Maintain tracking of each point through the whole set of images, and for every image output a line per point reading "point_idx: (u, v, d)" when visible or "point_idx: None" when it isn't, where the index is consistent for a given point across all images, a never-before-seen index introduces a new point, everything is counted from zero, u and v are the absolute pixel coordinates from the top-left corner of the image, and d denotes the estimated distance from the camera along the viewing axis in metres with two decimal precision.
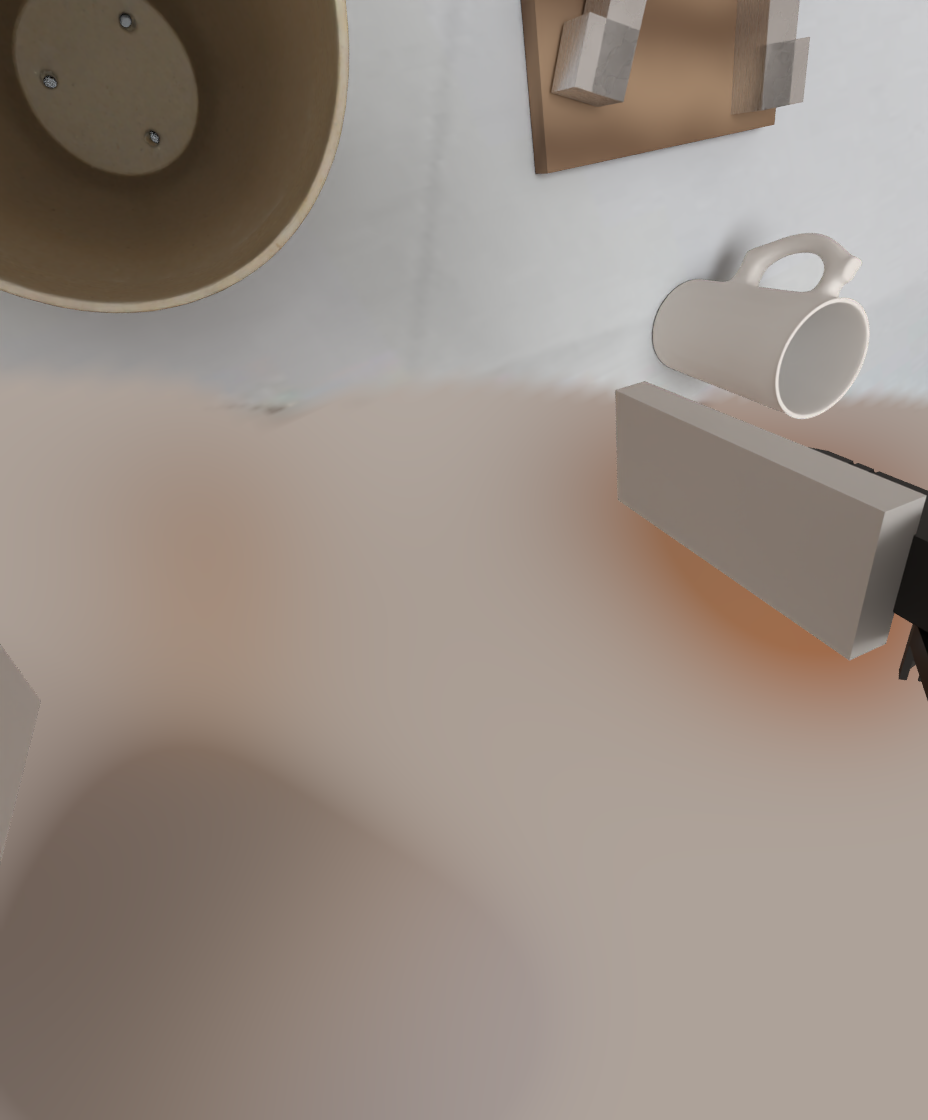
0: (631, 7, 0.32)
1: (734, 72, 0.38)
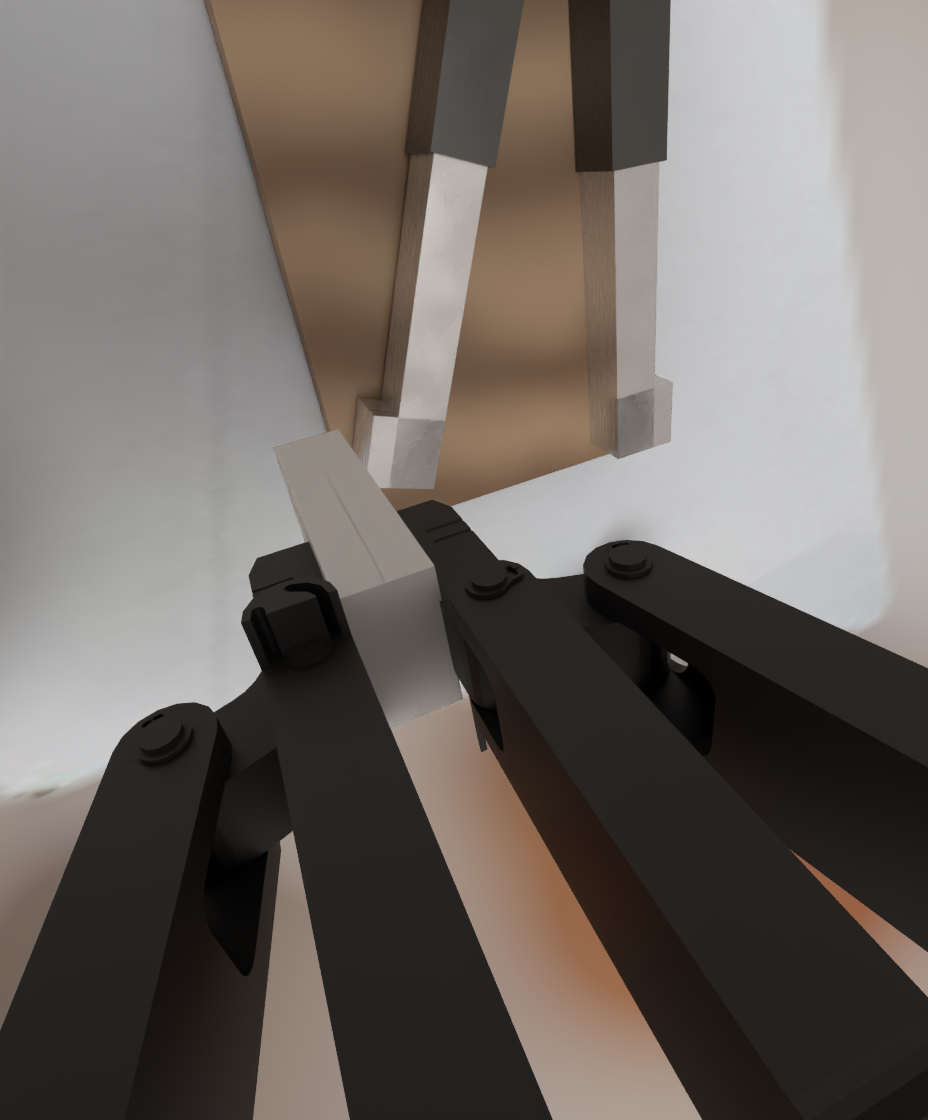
0: (430, 401, 0.26)
1: (590, 402, 0.32)
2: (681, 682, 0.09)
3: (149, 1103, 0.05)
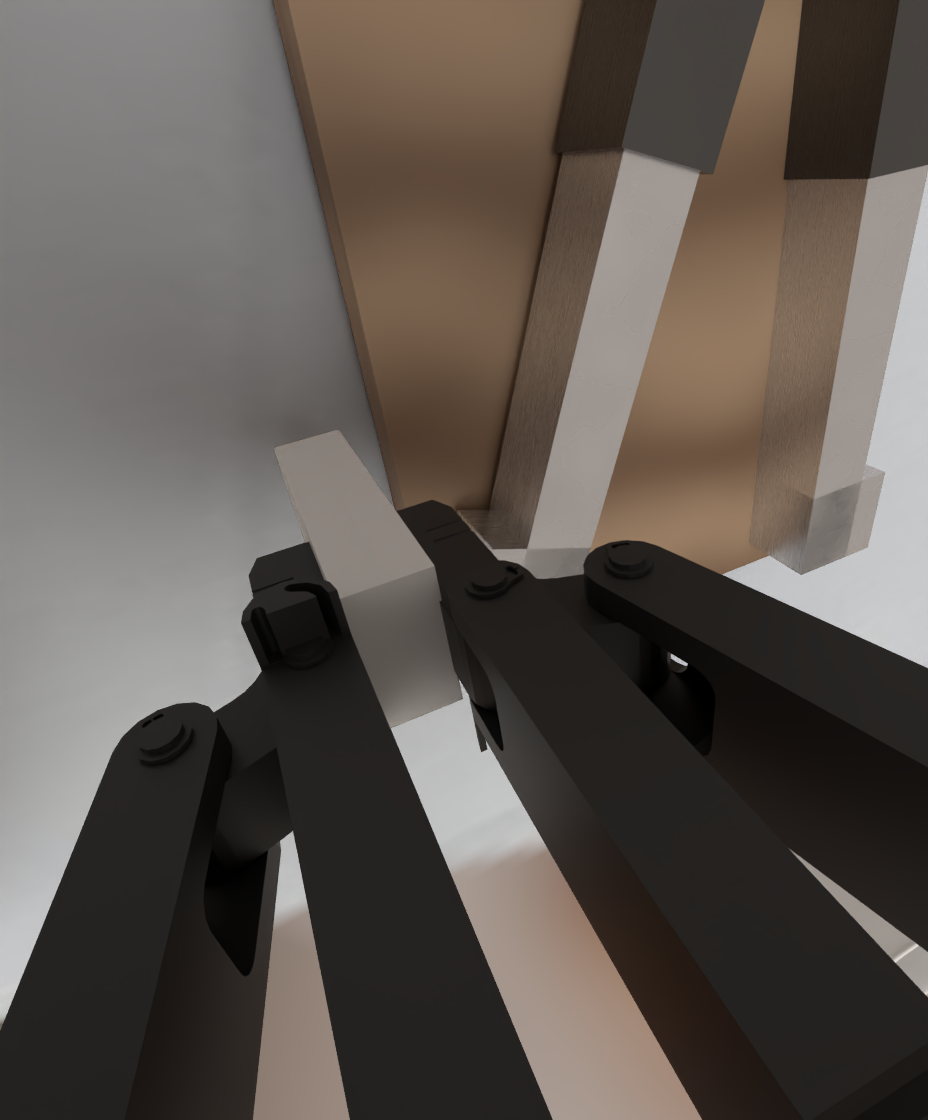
0: (574, 523, 0.17)
1: (756, 494, 0.23)
2: (681, 682, 0.09)
3: (149, 1104, 0.05)
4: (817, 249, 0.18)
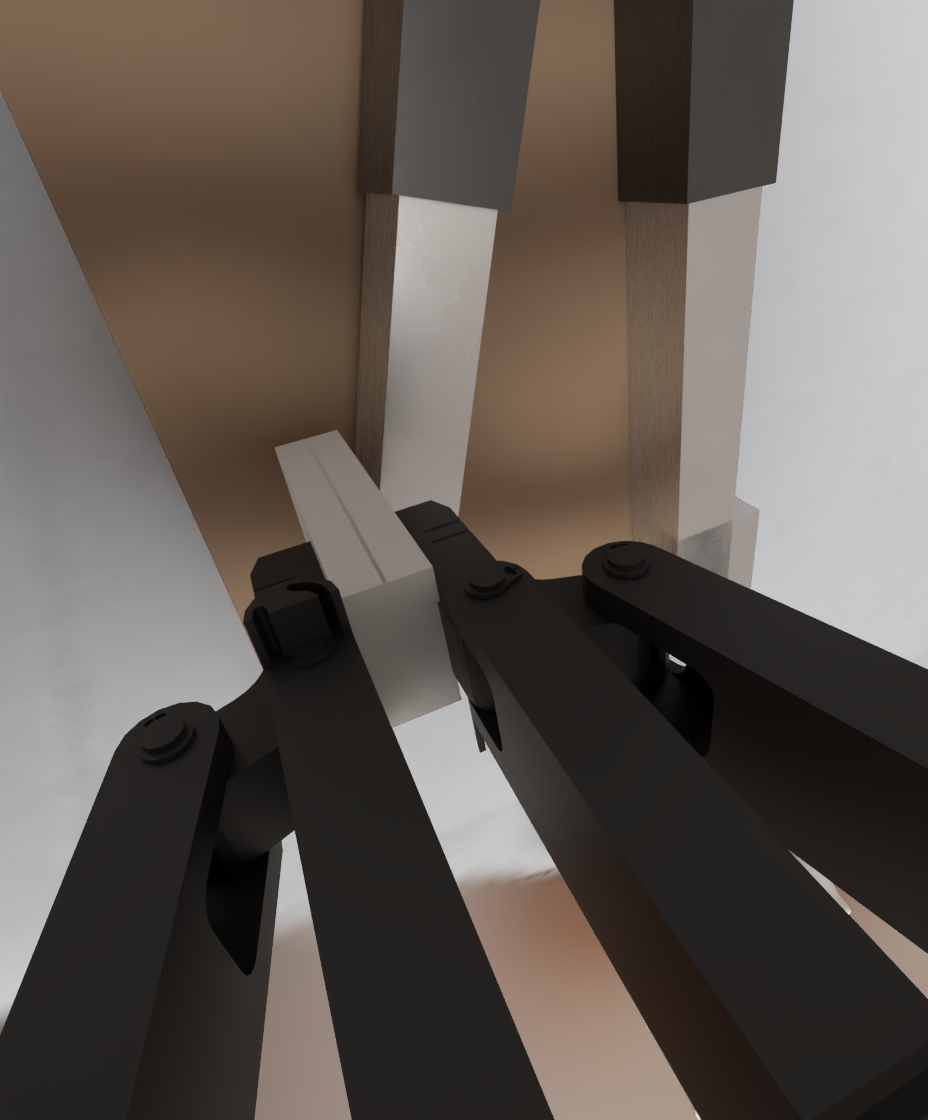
0: None
1: (632, 530, 0.22)
2: (679, 683, 0.09)
3: (151, 1102, 0.05)
4: (655, 277, 0.16)
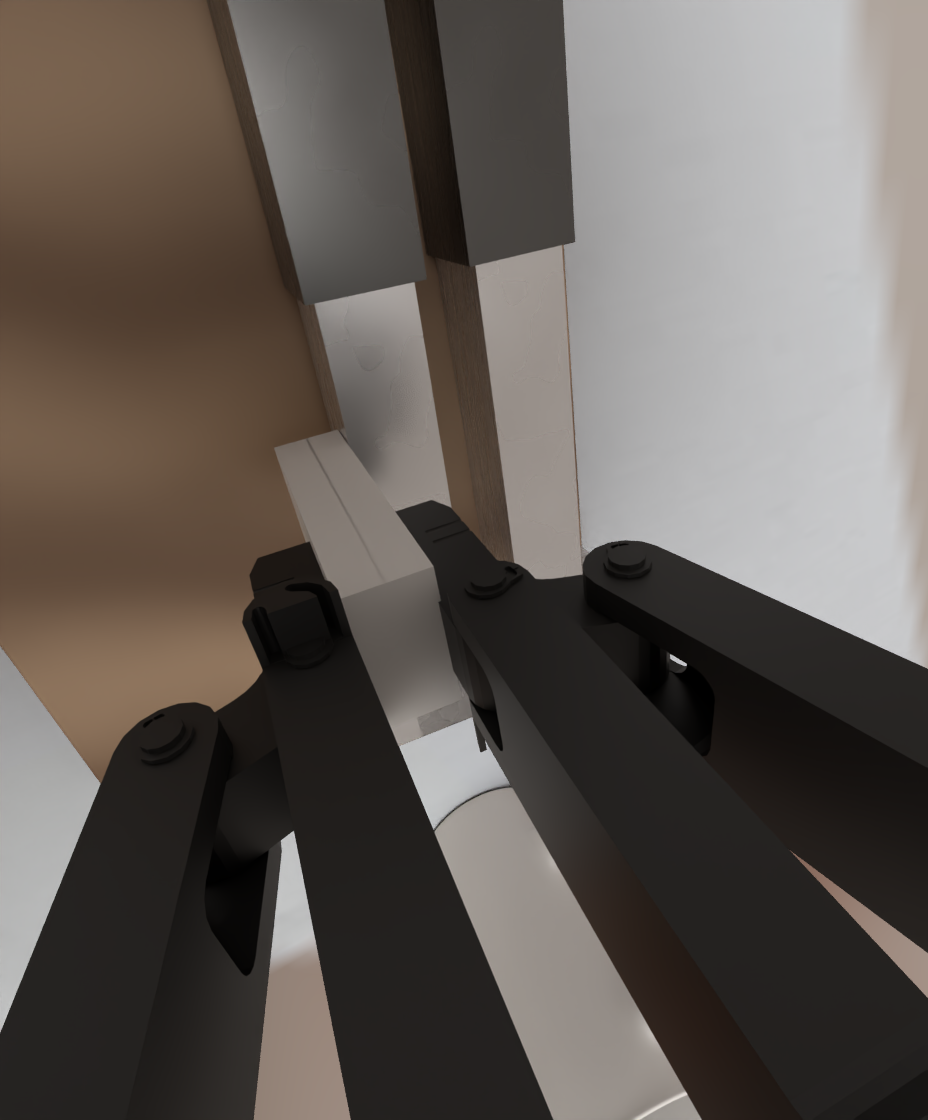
0: None
1: None
2: (680, 682, 0.09)
3: (150, 1103, 0.05)
4: (465, 337, 0.15)
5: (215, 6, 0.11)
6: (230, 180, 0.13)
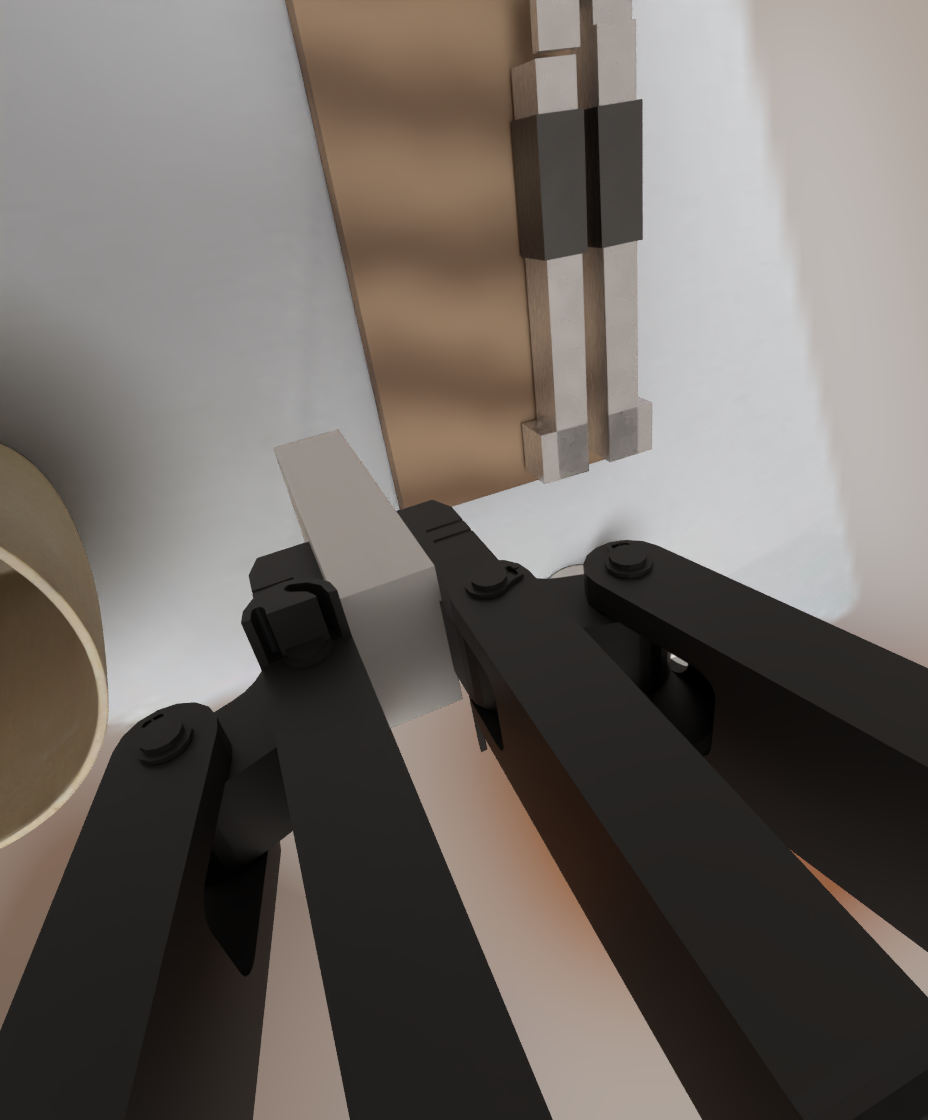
0: (575, 414, 0.37)
1: (588, 418, 0.40)
2: (681, 682, 0.09)
3: (149, 1103, 0.05)
4: (592, 280, 0.35)
5: (523, 155, 0.31)
6: (507, 214, 0.33)
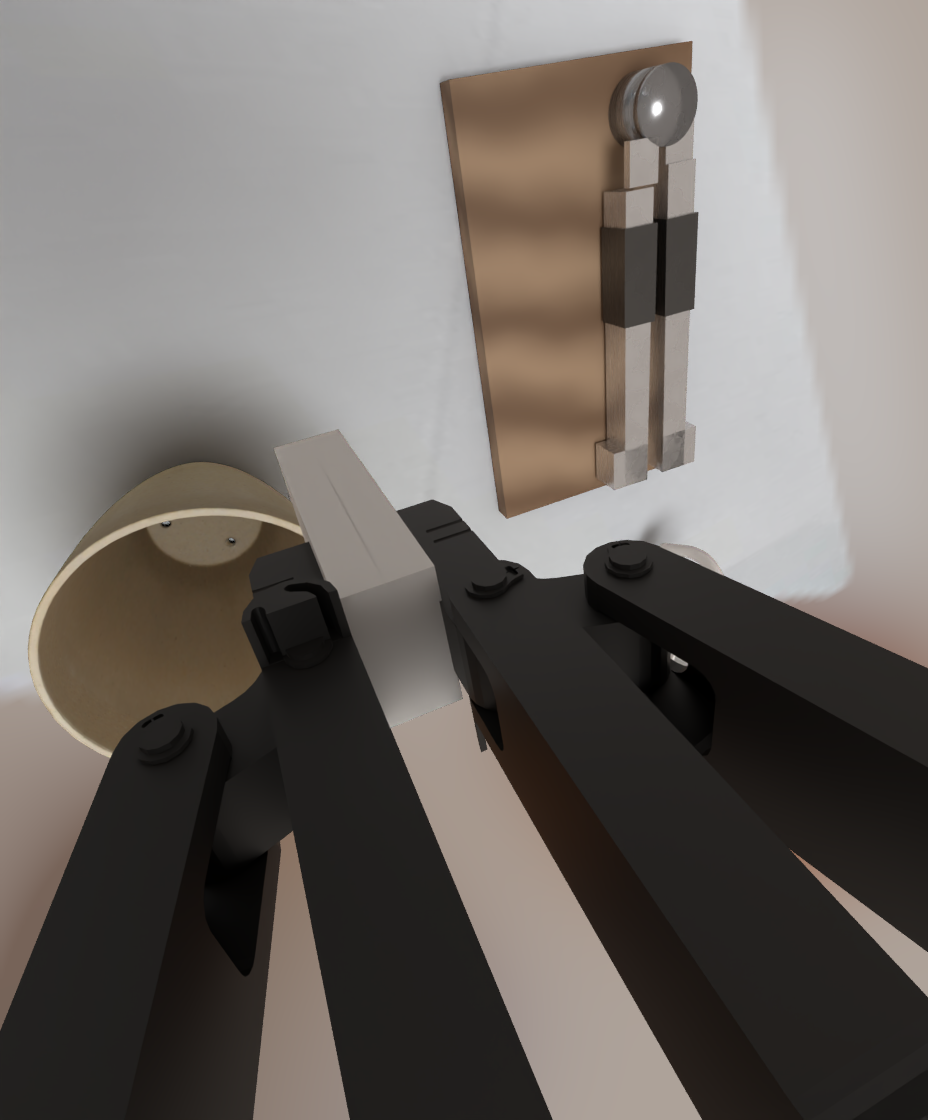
0: (639, 437, 0.48)
1: None
2: (681, 682, 0.09)
3: (149, 1103, 0.05)
4: (654, 337, 0.46)
5: (610, 253, 0.42)
6: (594, 291, 0.44)
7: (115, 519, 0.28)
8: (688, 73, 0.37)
